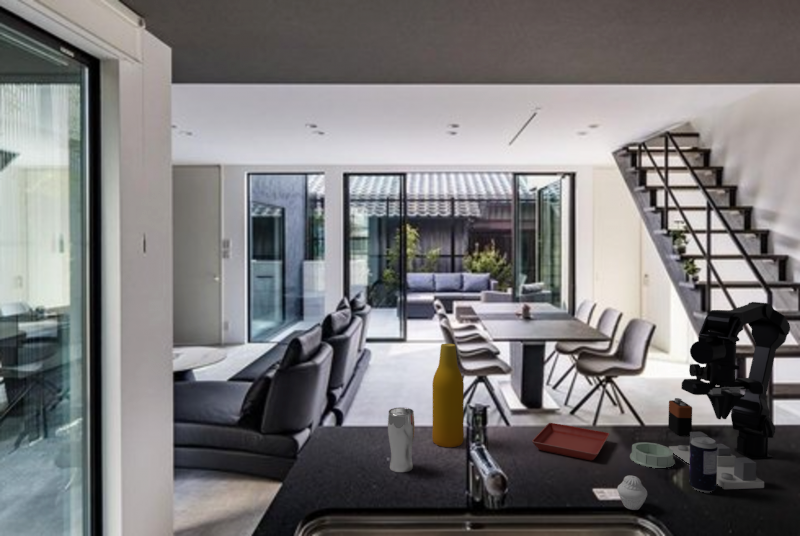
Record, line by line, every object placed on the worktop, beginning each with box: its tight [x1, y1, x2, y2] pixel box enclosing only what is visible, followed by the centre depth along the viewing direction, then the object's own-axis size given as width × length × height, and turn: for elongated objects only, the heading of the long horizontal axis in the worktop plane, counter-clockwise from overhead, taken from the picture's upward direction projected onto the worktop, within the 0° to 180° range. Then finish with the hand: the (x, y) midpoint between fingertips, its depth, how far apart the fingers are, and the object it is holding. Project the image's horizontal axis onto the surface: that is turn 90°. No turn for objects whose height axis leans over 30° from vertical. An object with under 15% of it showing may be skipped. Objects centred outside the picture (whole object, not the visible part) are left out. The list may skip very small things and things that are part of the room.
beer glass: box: [387, 407, 415, 473], centre depth 139 cm, size 7×7×15 cm
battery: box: [667, 397, 693, 437], centre depth 164 cm, size 4×7×10 cm, turn 176°
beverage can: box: [688, 436, 718, 494], centre depth 126 cm, size 6×6×12 cm
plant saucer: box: [531, 422, 610, 461], centre depth 153 cm, size 18×18×3 cm
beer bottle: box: [431, 343, 465, 448], centre depth 156 cm, size 9×9×29 cm
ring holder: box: [629, 442, 676, 469], centre depth 143 cm, size 11×11×3 cm
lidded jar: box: [617, 475, 648, 511], centre depth 118 cm, size 6×6×7 cm
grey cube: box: [716, 443, 732, 456], centre depth 138 cm, size 3×3×3 cm
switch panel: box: [668, 431, 765, 490], centre depth 138 cm, size 23×10×6 cm, turn 4°
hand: (721, 418), depth 138 cm, fingers closed
